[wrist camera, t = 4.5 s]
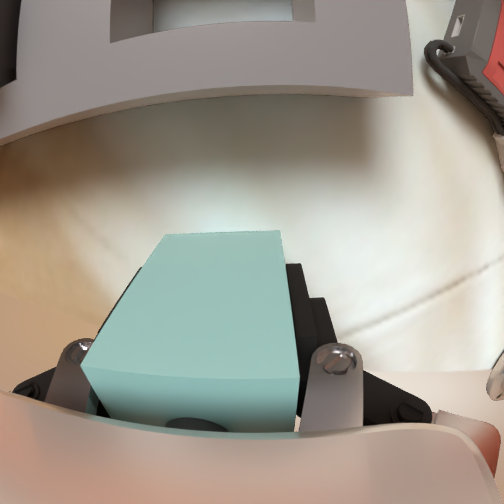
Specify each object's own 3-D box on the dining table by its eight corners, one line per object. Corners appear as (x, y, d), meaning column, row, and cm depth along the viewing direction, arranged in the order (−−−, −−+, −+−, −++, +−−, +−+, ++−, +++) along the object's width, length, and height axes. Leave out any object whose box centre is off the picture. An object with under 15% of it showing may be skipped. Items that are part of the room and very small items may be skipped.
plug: (279, 230, 11) (309, 477, 3) (279, 323, 13) (290, 529, 5) (165, 234, 12) (41, 438, 3) (182, 324, 13) (127, 513, 5)
